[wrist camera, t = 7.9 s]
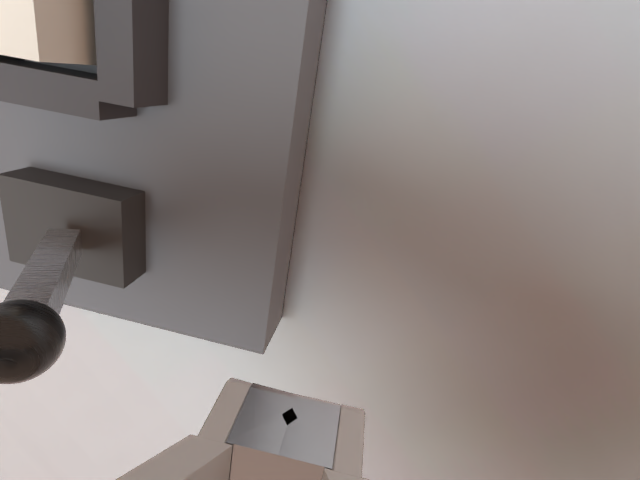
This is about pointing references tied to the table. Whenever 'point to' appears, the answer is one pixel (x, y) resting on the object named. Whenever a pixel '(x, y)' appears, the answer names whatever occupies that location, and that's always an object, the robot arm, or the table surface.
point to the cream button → (48, 30)
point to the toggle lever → (38, 308)
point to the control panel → (167, 161)
